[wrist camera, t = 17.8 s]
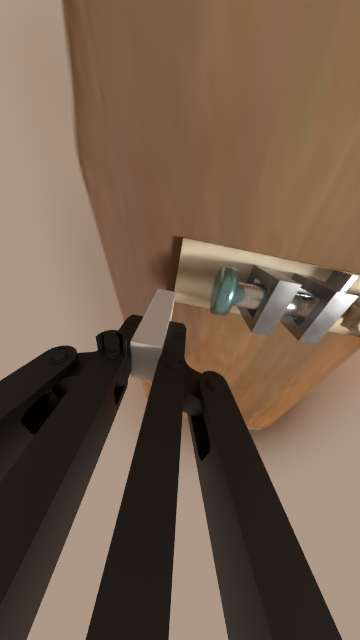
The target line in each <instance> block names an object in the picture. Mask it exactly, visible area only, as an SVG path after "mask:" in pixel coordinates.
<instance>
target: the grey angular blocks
mask: <svg viewBox="0 0 360 640" xmlns="http://www.w3.org/2000/svg"><path fill="white" fill-rule="evenodd" d="M357 277H358V276H355V275H352V274H348V273H345V272H342V271H338V270H334V271H333V272H332V273H331V275H330V276H329V278H328V279H327V280H326V282H323V281H321V280H319V279H316V278H314V277H311V276H308V275H303V274H298V273H295V274H294V275H293V277H292V279H290V278H288V277H286V276H284V275H283V274H281V273H279V272H277V271H275V270H273V269H271V268H269V267H264V266H259V265H253V268H252V270H251V272H250V275H249V277H248V279H247V282H246V284H251V285H256V286H261V287H266V288H268V290H267V292H266V294H265V296H264V298H263V300H262V302H261V304H260V306H259V308H258V310H253V309H248V308H243V307H238V306H237V308H238V309H239V311H240V313H241V315H242V316H243V318H244V320H245V322H246V323H247V325H248V327H249V329H250V330H251V332H254V333H259V334H265V335H270V334H271V333H272V331H273V330H274V328H275V326H276V325H277V323H278V322H279V320H280V322H281V323H282V324H283V325H284V326H285V327H286V328H287V329H288V330H289V331H290V332H291V333H292V334H293V335H294V337H295V338H296V339H297V340H298V341H302V342H308V343H313V344H317V343H318V342H319V341H320V339H321V338H322V337H323V336H324V335H325V334H326V333H327V331H328V330H329V329H330V328H331V327H332V326H333V325H334V324H335V322H336V321H337V320H338V319H339V318H340V317H341V316H342V315H343V313H344V312H345V311H346V310H347V309H348V308H349V307H350V306H351V304H352V303H353V302H354V301H355V300H356V299H357V298H358V297H359V296H357V295H354V294H352V293H350V292H347V290H348V288H349V287H350V286H351V285H352V284H353V282H354V281H355V280H356V279H357ZM296 294H301V295H306V296H312V295H314V296H315V297H316V298H319V299H320V300H319V302H318V303H317V304H316V306H315V307H314V308H313V310H312V311H311V312H310V314H309V315H308V316H307V318H306V319H300V318H295V317H290V316H284V315H283V314H284V312H285V311H286V309H287V308H288V306H289V305H290V303H291V301H292V300H293V298H294V297H295V295H296Z"/></svg>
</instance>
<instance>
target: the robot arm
mask: <svg viewBox="0 0 360 640" xmlns="http://www.w3.org/2000/svg"><path fill="white" fill-rule="evenodd" d="M175 295H176V292H172V291H167V290H162V289H158V290H157V292H156V294H155V296H154V298H153V300H152V302H151V303H150V305H149V307H148V309H147V311H146V313H145V315H144V317H143V316H137V315H131V316H130V317H128V318H127V319H126V320H125V322H124V324H123V325H122V326H121V328H120V329H119V330H108V331H104V332H102V333H100V334H98V335H97V336H96V341H97V346H98V351H96V352H87V353H77V351H76V349H75V348H73V347H71V346H58V347H55V348H52V349H50V350H48V351H46V352H44V353H43V354H41V355H40V356H38V357H37V358H36V359H34V360H32V361H31V362H29V363H27V364H26V365H24V366H23V367H21V368H19V369H18V370H17V371H15V372H13V373H12V374H10V375H9V376H7V377H6V378H4V379H2V380H1V381H0V640H26V639H27V637H28V634H29V632H30V629H31V627H32V624H33V622H34V619H35V617H36V614H37V612H38V609H39V607H40V604H41V601H42V599H43V596H44V594H45V591H46V589H47V587H48V584H49V581H50V579H51V576H52V574H53V571H54V569H55V566H56V564H57V561H58V559H59V556H60V554H61V551H62V549H63V546H64V544H65V541H66V539H67V536H68V534H69V531H70V529H71V526H72V524H73V521H74V519H75V516H76V514H77V511H78V509H79V506H80V504H81V501H82V499H83V496H84V494H85V491H86V488H87V486H88V484H89V481H90V479H91V476H92V474H93V471H94V469H95V466H96V464H97V461H98V459H99V456H100V454H101V451H102V449H103V446H104V443H105V441H106V438H107V436H108V433H109V431H110V428H111V426H112V423H113V421H114V418H115V416H116V413H117V411H118V408H119V406H120V403H121V401H122V398H123V396H124V393H125V391H126V388H127V385H128V377H129V375H130V373H131V377H134V378H140V379H145V380H151V381H153V382H152V386H151V390H150V394H149V398H148V401H147V405H146V409H145V413H144V417H143V421H142V425H141V429H140V433H139V436H138V440H137V444H136V448H135V452H134V456H133V459H132V463H131V467H130V471H129V475H128V479H127V483H126V486H125V490H124V494H123V498H122V502H121V506H120V510H119V514H118V517H117V521H116V525H115V529H114V533H113V537H112V541H111V544H110V548H109V552H108V556H107V560H106V564H105V568H104V572H103V575H102V579H101V583H100V587H99V591H98V594H97V598H96V603H95V606H94V610H93V614H92V618H91V621H90V626H89V629H88V633H87V637H86V640H168V637H169V620H170V605H171V589H172V573H173V557H174V540H175V524H176V508H177V492H178V476H179V459H180V443H181V427H182V411H184V412H186V413H187V414H188V420H189V425H190V431H191V436H192V441H193V446H194V453H195V458H196V464H197V468H198V475H199V480H200V485H201V491H202V496H203V502H204V508H205V512H206V518H207V524H208V529H209V535H210V540H211V546H212V551H213V557H214V562H215V568H216V573H217V579H218V584H219V589H220V595H221V601H222V606H223V612H224V617H225V623H226V628H227V634H228V639H229V640H342V638H341V636H340V634H339V632H338V629H337V627H336V625H335V623H334V620H333V618H332V616H331V614H330V612H329V609H328V607H327V605H326V603H325V600H324V598H323V596H322V594H321V592H320V589H319V587H318V585H317V583H316V580H315V578H314V576H313V574H312V571H311V569H310V567H309V565H308V563H307V560H306V558H305V556H304V553H303V551H302V549H301V547H300V545H299V543H298V540H297V538H296V536H295V534H294V531H293V529H292V527H291V525H290V522H289V520H288V518H287V515H286V513H285V511H284V509H283V507H282V504H281V502H280V500H279V498H278V495H277V493H276V491H275V489H274V487H273V485H272V482H271V480H270V477H269V475H268V473H267V471H266V469H265V466H264V464H263V462H262V460H261V457H260V455H259V454H258V451H257V449H256V446H255V444H254V442H253V440H252V437H251V435H250V433H249V431H248V428H247V426H246V424H245V422H244V419H243V417H242V415H241V413H240V410H239V408H238V406H237V404H236V401H235V399H234V397H233V395H232V393H231V390H230V388H229V386H228V384H227V382H226V380H225V379H224V378H223V377H222V376H221V375H220V374H218V373H216V372H214V371H206V372H204V373H202V374H201V373H199V372H197V371H195V370H193V369H192V368H190V367H189V366H188V365H187V363H186V361H185V358H184V354H185V339H186V327H185V325H184V324H182V323H177V322H172V321H171V318H172V312H173V306H174V301H175Z"/></svg>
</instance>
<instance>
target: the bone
mask: <svg viewBox="0 0 360 640" xmlns="http://www.w3.org/2000/svg"><path fill="white" fill-rule="evenodd" d="M354 295H357V296H359V297H358V298H357V299H356V300H355V301H354V302H353V303H352V304H351V306H350V309H349V311H348V312H347V314H346V316H345V317H344V319H343V320H342V323H341V324H340V325H341V326H342V327H346V328H347V329H348V330H350V331H351V332H354V331H358V332H359V333H360V293H357V294H354Z"/></svg>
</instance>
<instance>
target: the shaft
mask: <svg viewBox="0 0 360 640" xmlns="http://www.w3.org/2000/svg"><path fill="white" fill-rule="evenodd" d="M267 290H268V288H266V287H261V286H256V285H251V284H246V283H241V282H239V271H238V269H237V268H232V267H227V266H222V267H221V268H220V269H219V271H218V273H217V275H216V278H215V281H214V284H213V288H212V292H211V297H210V312H211V313H212V314H217V315H223V316H225V315H226V314H228V313H229V311H230V310H231V308H232V306H238V307H243V308H248V309H253V310H258V308H259V306H260V304H261V302H262V300H263V298H264V296H265V294H266V292H267ZM319 300H320V299H319V298H316V297H311V296H306V295H301V294H296V295H295V297H294V298H293V300H292V301H291V303H290V305H289V306H288V308H287V309H286V311H285V312H284V314H283V315H284V316H290V317H295V318H300V319H306V318H307V316H308V315H309V314H310V312H311V311H312V310H313V308H314V307H315V306H316V304H317V303H318V302H319Z"/></svg>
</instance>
